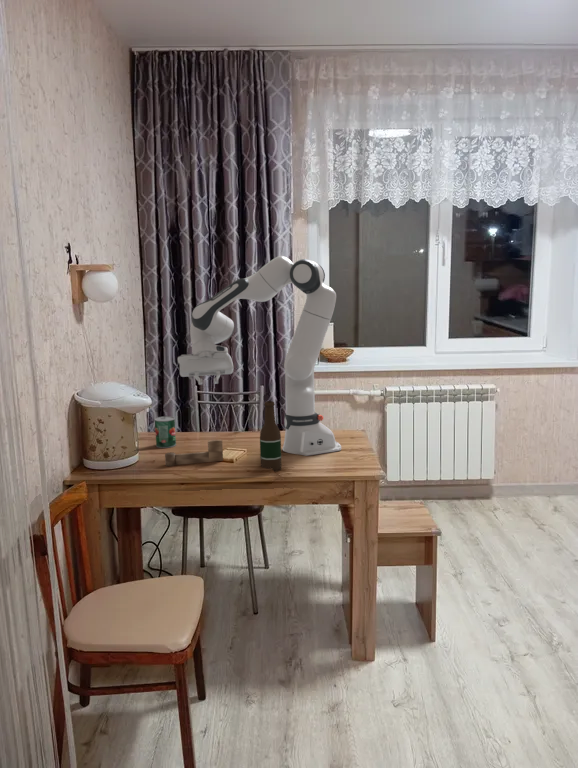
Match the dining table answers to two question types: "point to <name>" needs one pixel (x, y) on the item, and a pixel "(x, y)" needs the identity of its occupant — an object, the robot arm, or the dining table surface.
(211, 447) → the wooden l-shaped block
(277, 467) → the beer bottle
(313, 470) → the dining table surface
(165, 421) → the canned tomato
